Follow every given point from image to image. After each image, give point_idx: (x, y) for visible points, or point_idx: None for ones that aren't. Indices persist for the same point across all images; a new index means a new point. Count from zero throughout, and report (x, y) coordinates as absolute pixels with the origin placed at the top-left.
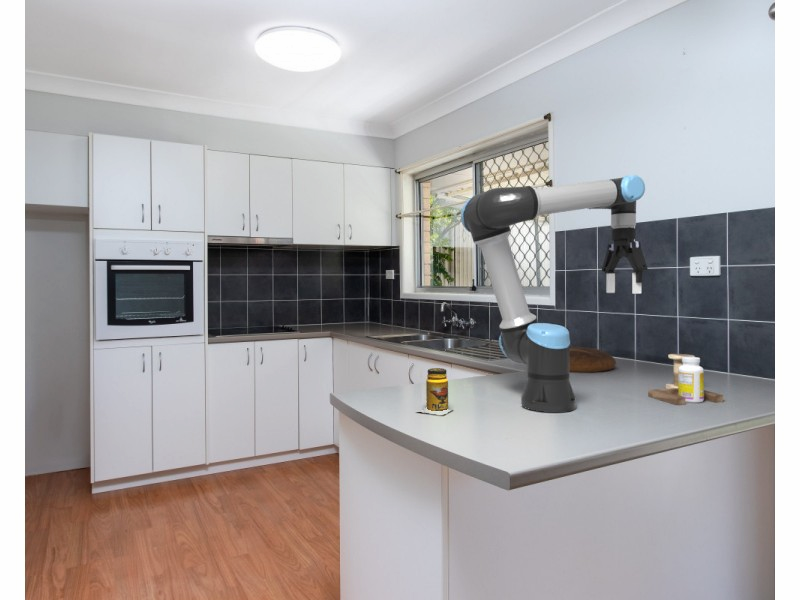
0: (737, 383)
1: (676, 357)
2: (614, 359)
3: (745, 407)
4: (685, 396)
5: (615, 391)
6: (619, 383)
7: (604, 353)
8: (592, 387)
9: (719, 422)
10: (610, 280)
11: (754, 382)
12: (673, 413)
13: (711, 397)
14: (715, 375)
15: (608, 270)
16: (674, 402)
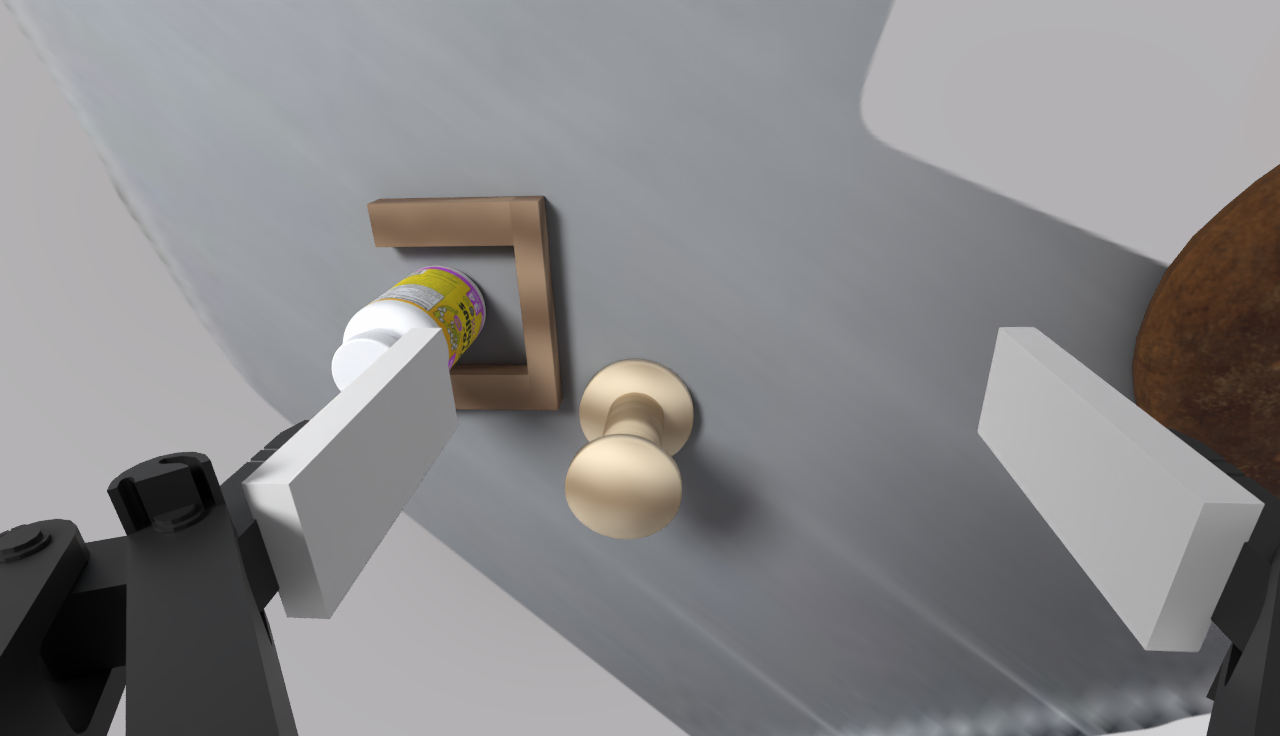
0: (682, 645)
1: (593, 445)
2: None
3: None
4: (413, 273)
5: (674, 115)
6: (836, 254)
7: (1246, 449)
8: (797, 54)
9: (124, 160)
10: (1090, 470)
11: (682, 695)
12: (246, 87)
13: None
14: (834, 689)
15: (1272, 581)
16: (385, 199)
